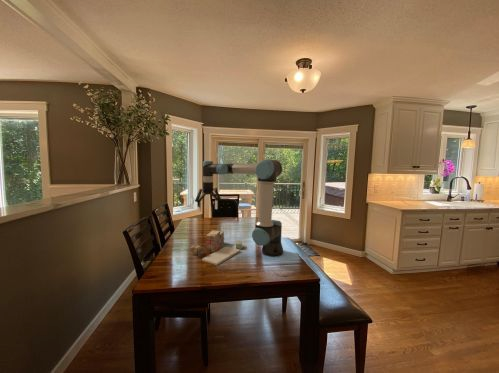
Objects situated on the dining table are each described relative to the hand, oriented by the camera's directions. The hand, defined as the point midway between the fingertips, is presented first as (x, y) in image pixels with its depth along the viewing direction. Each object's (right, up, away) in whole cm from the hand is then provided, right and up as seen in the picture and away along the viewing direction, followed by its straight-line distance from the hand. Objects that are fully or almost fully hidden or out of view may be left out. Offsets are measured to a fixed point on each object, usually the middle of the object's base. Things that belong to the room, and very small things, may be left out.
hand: (208, 210), depth 171 cm
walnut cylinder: (-1, -29, -18) cm, 34 cm away
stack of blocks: (+6, -28, -1) cm, 28 cm away
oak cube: (-7, -29, -14) cm, 32 cm away
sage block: (+23, -28, -2) cm, 36 cm away
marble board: (+12, -29, -17) cm, 36 cm away
